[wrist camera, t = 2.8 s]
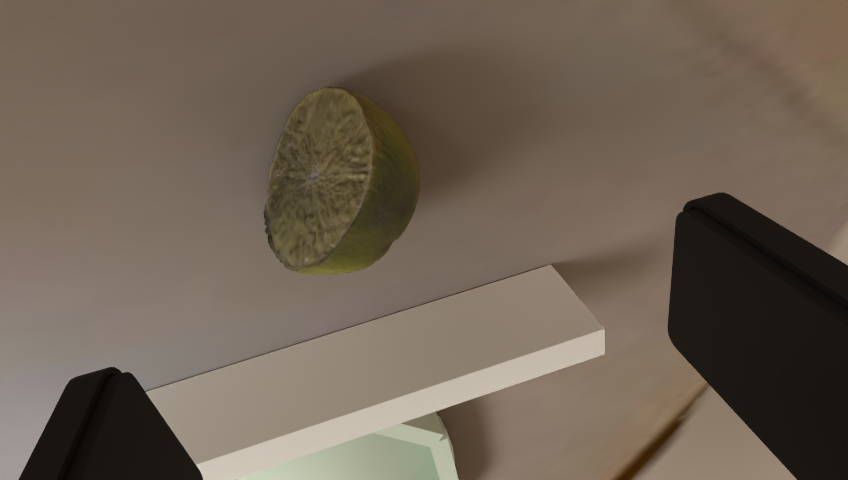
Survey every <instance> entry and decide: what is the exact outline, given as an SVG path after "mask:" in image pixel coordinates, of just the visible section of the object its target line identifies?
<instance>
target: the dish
mask: <svg viewBox="0 0 848 480" xmlns="http://www.w3.org/2000/svg"><path fill="white" fill-rule="evenodd" d="M454 463H455V458H454V451H453V446H452V444H451V441H450V438H449V435H448V432H447V430H446V427H445V425H444V424H443V422H442V420H441V417H440V416H438V415H437V413H436V412H433V413H430V414H427V415H424V416H421V417H418V418H415V419H412V420H409V421H406V422H403V423H400V424H397V425H394V426H391V427H388V428H385V429H382V430H379V431H376V432H373V433H370V434H367V435H365V436H362V437H359V438H356V439H353V440H350V441H347V442H344V443H341V444H338V445H335V446H332V447H329V448H326V449H323V450H320V451H317V452H314V453H311V454H308V455H305V456H302V457H299V458H296V459H294V460H291V461H288V462H285V463H282V464H279V465H276V466H273V467H270V468H267V469H264V470H261V471H258V472H255V473H252V474H249V475H246V476H243V477H240V478H237V479H234V480H459V479H458V475H457V472H456V468H455V464H454Z"/></svg>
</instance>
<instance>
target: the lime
mask: <svg viewBox="0 0 848 480" xmlns="http://www.w3.org/2000/svg"><path fill="white" fill-rule="evenodd" d="M268 182H269V185H268V190H267V196H268V197H269V198H268V201H267V203H266V204H265V211H264V218H265V225H267V227H266V230H265V232H266V233H267V234H268V243H269V245H270V248H271V249H273V252H274V253H275V255H276V257H277V258H278V259H279V260H280V262H282V263H284V266H285V267H286V268H287V269H289V270H291V271H294V272H298V273H303V274H338V273H349V272H353V271H359V270H361V269H364V268H366V267H368V266H370V265H372V264H373V263H375V262H376V261H377V260H379V259H380V258H381V257H383V256H384V255H385V253H386V252H387V251H388V250H389V248H390V246H391V244H392V242H394V241H395V240H396V239H398V238H399V237H400V236H401V234H402V233H403V231H405V229H406V227H407V225H408V223H409V221H410V219H411V218H412V215H413V213H414V211H415V206H416V203H417V200H418V195H419V187H420V176H419V167H418V163H417V159H416V155H415V153H414V150H413V148H412V146H411V144H410V142H409V141H408V139H407V136H406V135H405V134H404V132H403V131H402V129H401V128H400V126H399V124H398V123H397V122H396V121H395V120H394V119H393V118H392V117H391V116H390V115H389V114H388V113H386V112H385V110H383V109H382V108H381V107H380V106H378V105H377V104H376V103H374V102H373V101H371V100H369V99H368V98H366V97H364V96H363V95H361V94H359V93H355V92H353V91H350V90H347V89H343V88H336V87H324V88H321V89H320V90H317V91H315V92H313V93H311V94H309V95H307V96H306V98H305V99H304V100H303V101H302V103H300V104H298V105H297V106H296V108H295V109H294V111H293V112H292V114H291V115H290V116H289V119H288V121H287V123H286V125H285V129H284V132H283V134H282V136H281V139H280V141H279V144H278V147H277V150H276V153H275V157H274V161H273V162H272V166H271V169H270V174H269V180H268Z"/></svg>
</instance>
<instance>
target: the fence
mask: <svg viewBox="0 0 848 480" xmlns="http://www.w3.org/2000/svg"><path fill="white" fill-rule="evenodd" d="M604 354H605V329H604V327H603V326H602V325H601V324H600V323H599V321H598V320H597V319H596V318H595V317H594V315H593V314H592V313H591V312H590V311H589V309H588V308H587V307H586V306H585V305H584V303H583V302H582V301H581V300H580V299H579V297H578V296H577V295H576V294H575V293H574V291H573V290H572V289H571V288H570V287H569V285H568V284H567V283H566V282H565V281H564V279H563V278H562V277H561V276H560V275H559V274H558V272H557V271H556V270H555V269H554V268H553V266H552V265H548V266H544V267H541V268H538V269H535V270H532V271H528V272H525V273H522V274H519V275H516V276H513V277H509V278H506V279H503V280H500V281H497V282H493V283H490V284H487V285H484V286H481V287H478V288H474V289H471V290H468V291H465V292H462V293H458V294H455V295H452V296H449V297H446V298H443V299H439V300H436V301H433V302H430V303H427V304H423V305H420V306H417V307H414V308H411V309H407V310H404V311H401V312H398V313H395V314H392V315H388V316H385V317H382V318H379V319H376V320H372V321H369V322H366V323H363V324H360V325H357V326H353V327H350V328H347V329H344V330H341V331H337V332H334V333H331V334H328V335H325V336H322V337H318V338H315V339H312V340H309V341H306V342H302V343H299V344H296V345H293V346H290V347H287V348H283V349H280V350H277V351H274V352H271V353H267V354H264V355H261V356H258V357H255V358H252V359H248V360H245V361H242V362H239V363H236V364H232V365H229V366H226V367H223V368H220V369H217V370H213V371H210V372H207V373H204V374H201V375H197V376H194V377H191V378H188V379H185V380H182V381H178V382H175V383H172V384H169V385H166V386H162V387H159V388H156V389H153V390H150V391H146V394H147V395H148V397H149V398H150V400H151V401H152V402H153V404H154V405H155V407H156V408H157V410H158V411H159V412H160V414H161V415H162V417H163V418H164V420H165V421H166V423H167V424H168V425H169V427H170V428H171V430H172V431H173V433H174V434H175V436H176V437H177V438H178V440H179V441H180V443H181V444H182V446H183V447H184V448H185V450H186V451H187V453H188V454H189V456H190V457H191V459H192V460H193V461H194V463H195V464H196V466H197V467H198V469H199V470H200V472H201V474H202V477H203V480H234V479H237V478H240V477H243V476H246V475H249V474H252V473H255V472H258V471H261V470H264V469H267V468H270V467H273V466H276V465H279V464H282V463H285V462H288V461H291V460H294V459H296V458H299V457H302V456H305V455H308V454H311V453H314V452H317V451H320V450H323V449H326V448H329V447H332V446H335V445H338V444H341V443H344V442H347V441H350V440H353V439H356V438H359V437H362V436H365V435H367V434H370V433H373V432H376V431H379V430H382V429H385V428H388V427H391V426H394V425H397V424H400V423H403V422H406V421H409V420H412V419H415V418H418V417H421V416H424V415H427V414H430V413H433V412H435V411H438V410H441V409H444V408H447V407H450V406H453V405H456V404H459V403H462V402H465V401H468V400H471V399H474V398H477V397H480V396H483V395H486V394H489V393H492V392H495V391H498V390H501V389H503V388H506V387H509V386H512V385H515V384H518V383H521V382H524V381H527V380H530V379H533V378H536V377H539V376H542V375H545V374H548V373H551V372H554V371H557V370H560V369H563V368H566V367H569V366H572V365H574V364H577V363H580V362H583V361H586V360H589V359H592V358H595V357H598V356H601V355H604Z"/></svg>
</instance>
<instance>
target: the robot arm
mask: <svg viewBox="0 0 848 480" xmlns="http://www.w3.org/2000/svg"><path fill="white" fill-rule="evenodd" d="M668 333H669V337H670V339H671V341H672V343H673V345H674V346H675V347H676V349H677V350H678V351H679V352H680V353H681V354H682V355H683V356H684V357H685V358H686V360H687V361H688V362H689V363H690V364H691V365H692V366H693V367H694V368H695V369H696V370H697V372H698V373H699V374H700V375H701V376H702V377H703V378H704V379H705V380H706V381H707V382H708V383H709V385H710V386H711V387H712V388H713V389H714V390H715V391H716V392H717V393H718V394H719V395H720V396H721V397H722V398H723V400H724V401H725V402H726V403H727V404H728V405H729V406H730V407H731V408H732V409H733V410H734V412H735V413H736V414H737V415H738V416H739V417H740V418H741V419H742V420H743V421H744V422H745V424H747V426H748V427H749V428H750V429H751V430H752V431H753V432H754V433H755V434H756V435H757V436H758V438H759V439H760V440H761V441H762V442H763V443H764V444H765V445H766V446H767V447H768V448H769V450H770V451H771V452H772V453H773V454H774V455H775V456H776V457H777V458H778V459H779V460H780V461H781V463H782V464H783V465H784V466H785V467H786V468H787V469H788V470H789V471H790V472H791V473H792V474H793V475H794V477H795V478H796V479H797V480H848V265H846V264H844V263H843V262H841V261H839V260H838V259H836V258H834V257H833V256H831V255H829V254H828V253H826V252H824V251H823V250H821V249H819V248H818V247H816V246H814V245H813V244H811V243H809V242H808V241H806V240H804V239H803V238H801V237H799V236H798V235H796V234H794V233H793V232H791V231H789V230H788V229H786V228H784V227H783V226H781V225H779V224H778V223H776V222H774V221H772V220H771V219H769V218H767V217H766V216H764V215H762V214H761V213H759V212H757V211H756V210H754V209H752V208H751V207H749V206H747V205H746V204H744V203H742V202H741V201H739V200H737V199H736V198H734V197H732V196H731V195H729V194H726V193H724V192H723V193H716V194H712V195H709V196H705V197H702V198H698V199H695V200H691V201H689V202H687V203H686V204H685V206H684V208H683V212H681V213H679V214H678V216H677V218H676V226H675V239H674V252H673V265H672V278H671V291H670V304H669V317H668ZM19 480H203V477H202V474H201V472H200V470H199V469H198V467H197V466H196V464H195V463H194V461H193V460H192V459H191V457H190V456H189V454H188V453H187V451H186V450H185V448H184V447H183V446H182V444H181V443H180V441H179V440H178V438H177V437H176V436H175V434H174V433H173V431H172V430H171V428H170V427H169V425H168V424H167V423H166V421H165V420H164V418H163V417H162V415H161V414H160V412H159V411H158V410H157V408H156V407H155V405H154V404H153V402H152V401H151V400H150V398H149V397H148V395H147V394H146V392H145V391H144V389H143V388H142V387H141V385H140V384H139V382H138V381H137V379H136V378H135V377H134V376H133V375H132V374H131V373H129V372H125V373H122V372H121V371H120V370H119V369H117V368H115V367H109V368H105V369H102V370H98V371H95V372H92V373H88V374H85V375H81V376H78V377H75V378H73V379H71V380H70V381H69V383H68V384H67V385H66V387H65V389H64V391H63V393H62V395H61V397H60V399H59V401H58V403H57V405H56V407H55V409H54V411H53V413H52V415H51V417H50V419H49V421H48V423H47V425H46V427H45V429H44V431H43V433H42V435H41V437H40V439H39V441H38V443H37V444H36V446H35V448H34V450H33V452H32V454H31V456H30V458H29V460H28V462H27V464H26V466H25V468H24V470H23V472H22V474H21V476H20V478H19Z"/></svg>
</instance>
